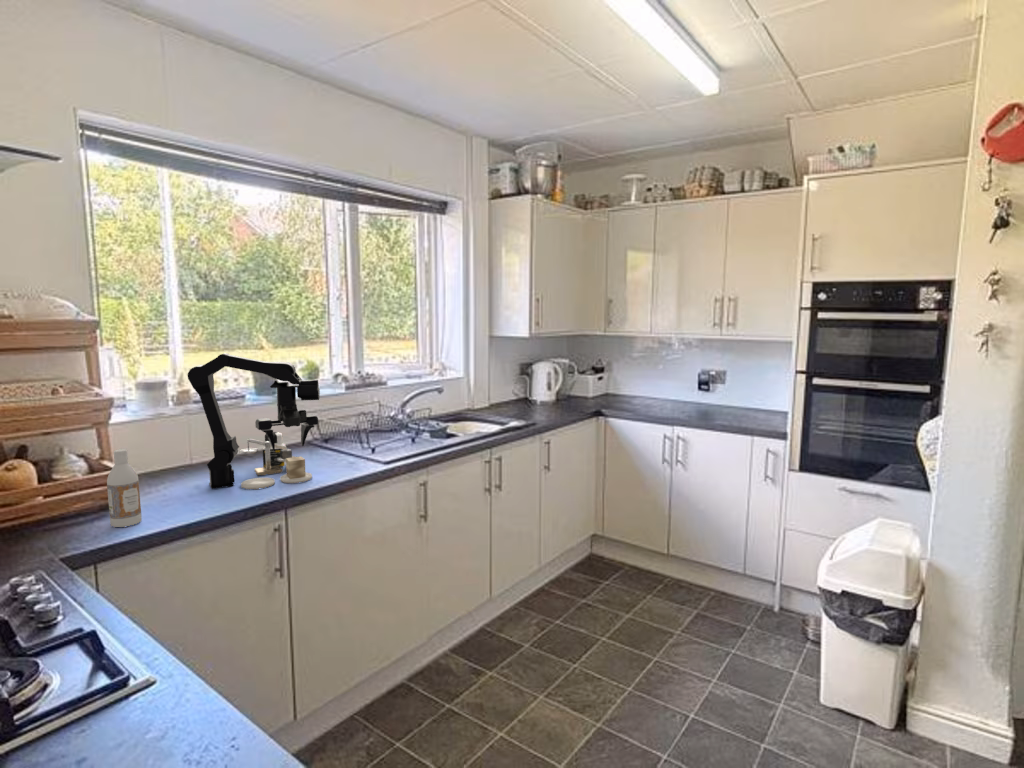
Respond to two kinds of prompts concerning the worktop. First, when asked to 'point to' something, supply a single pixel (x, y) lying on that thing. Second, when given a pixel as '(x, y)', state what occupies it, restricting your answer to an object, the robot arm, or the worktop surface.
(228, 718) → the worktop surface
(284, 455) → the balance
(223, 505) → the worktop surface
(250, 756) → the worktop surface
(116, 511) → the bath foam
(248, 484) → the dish left
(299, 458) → the beech block
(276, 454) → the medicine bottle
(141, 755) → the worktop surface
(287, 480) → the dish right
